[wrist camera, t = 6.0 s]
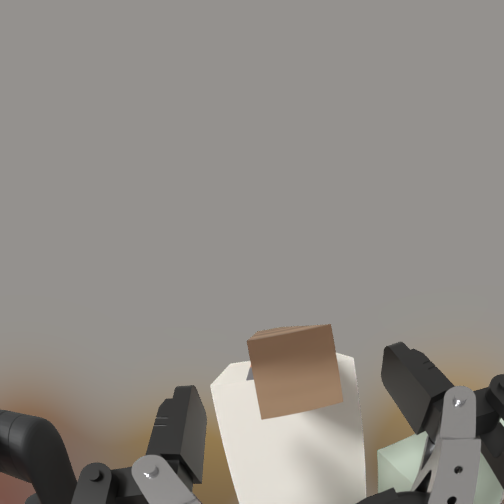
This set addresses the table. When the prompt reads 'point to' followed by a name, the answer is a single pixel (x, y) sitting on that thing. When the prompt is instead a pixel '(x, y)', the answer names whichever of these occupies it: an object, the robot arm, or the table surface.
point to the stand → (291, 443)
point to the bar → (294, 369)
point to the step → (408, 462)
